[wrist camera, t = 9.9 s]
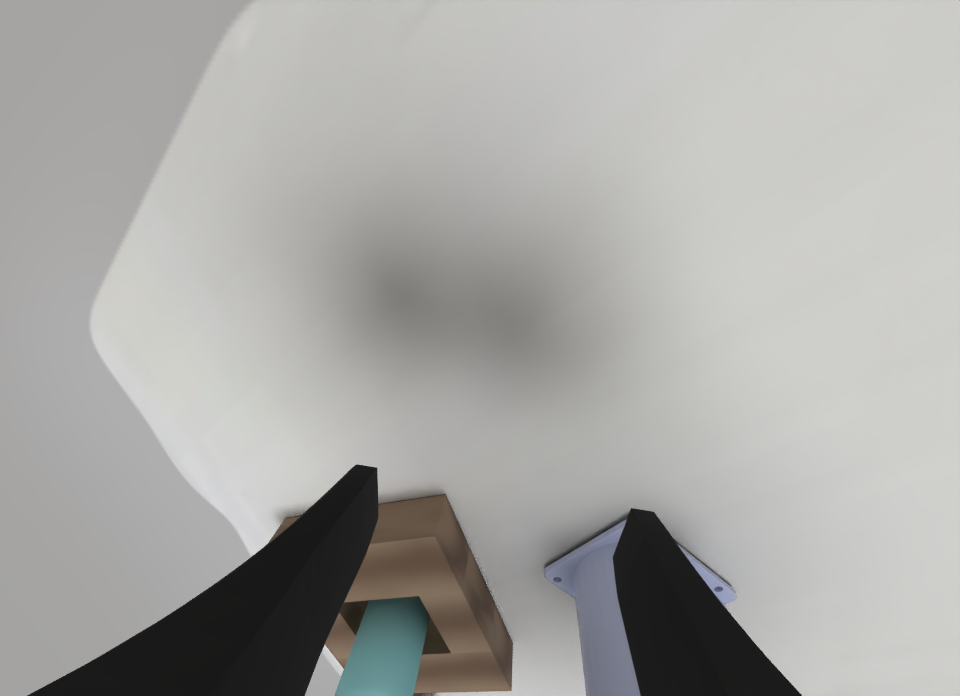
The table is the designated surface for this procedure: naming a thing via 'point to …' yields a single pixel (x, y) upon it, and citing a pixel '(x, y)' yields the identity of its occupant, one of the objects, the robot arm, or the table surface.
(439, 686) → the socket block
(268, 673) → the robot arm
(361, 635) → the teal peg
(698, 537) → the table surface
